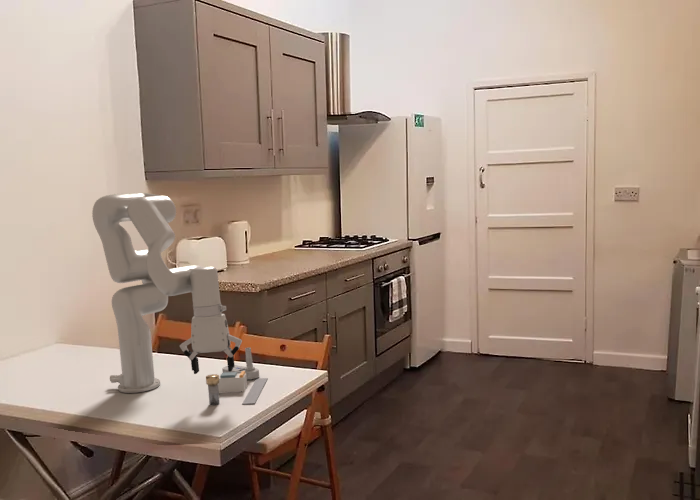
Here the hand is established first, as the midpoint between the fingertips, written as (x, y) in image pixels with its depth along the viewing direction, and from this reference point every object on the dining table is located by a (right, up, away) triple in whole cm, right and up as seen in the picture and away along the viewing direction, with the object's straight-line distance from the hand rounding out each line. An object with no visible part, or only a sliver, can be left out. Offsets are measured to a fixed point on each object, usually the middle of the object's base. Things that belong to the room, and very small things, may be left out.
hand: (213, 371), depth 194 cm
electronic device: (+3, -7, +28) cm, 29 cm away
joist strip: (+10, -8, +11) cm, 17 cm away
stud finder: (+3, -8, +14) cm, 16 cm away
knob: (0, -9, +1) cm, 9 cm away
